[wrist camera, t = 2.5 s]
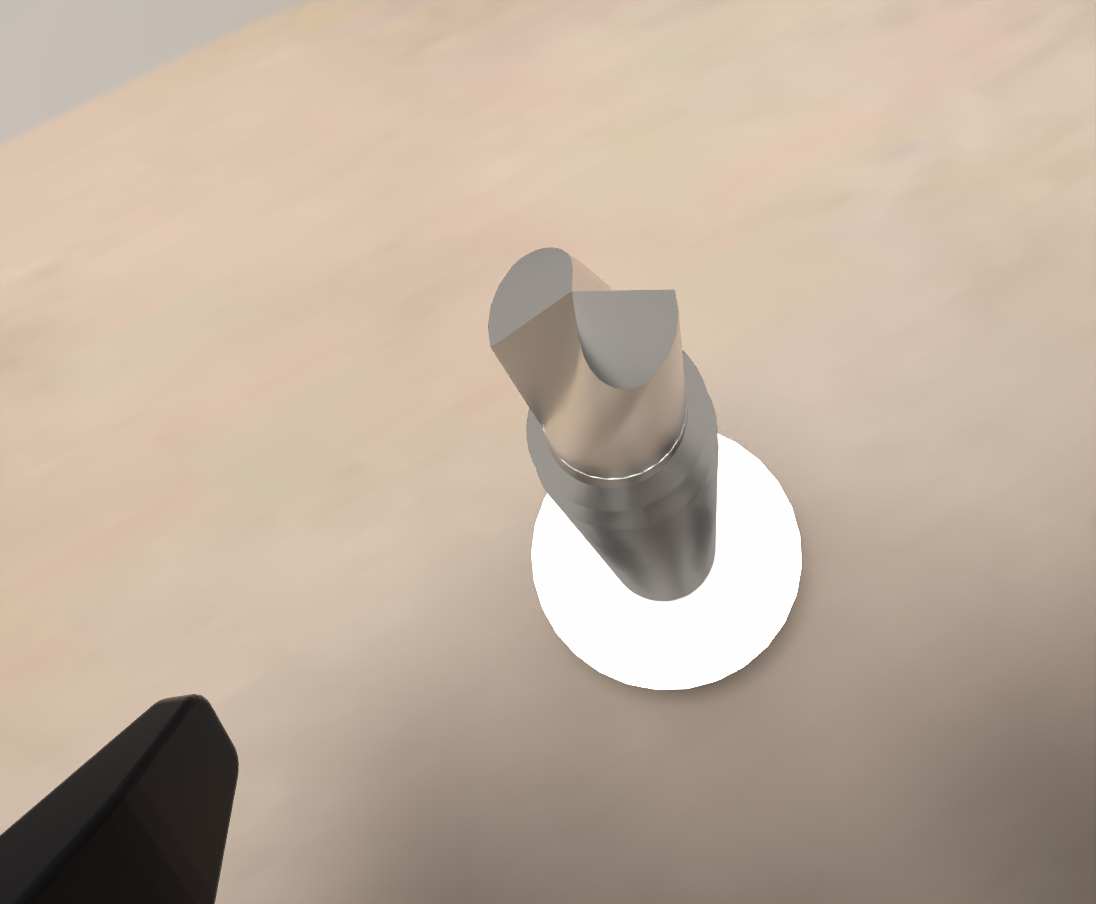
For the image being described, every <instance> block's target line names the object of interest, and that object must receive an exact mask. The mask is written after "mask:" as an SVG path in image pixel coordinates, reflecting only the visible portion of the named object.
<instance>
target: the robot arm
mask: <svg viewBox="0 0 1096 904" xmlns="http://www.w3.org/2000/svg"><path fill="white" fill-rule="evenodd" d="M238 765H239V763H238V756H237V753H236V749H235V747H234V745H233V743H232V741H231V740H230V738H229V736H228V734H227V733H226V731H225V729H224V727H223V726H222V724H221V722H220V720H219V718H218V717H217V715H216V713H215V711H214V710H213V708H212V706H211V704H210V703H209V701H208V700H207V699H206V698H204V697H203V696H201V695H196V694H191V695H185V696H178V697H171V698H166V699H163V700H160V701H158V702H157V703H155V704H154V705H153V706H151V707H150V708H149V709H148V710H147V711H146V712H144V713H143V714H142V715H141V716H140V717H139V718H137V719H136V720H135V721H134V722H133V723H132V724H130V725H129V726H128V727H127V728H126V729H125V730H123V731H122V732H121V733H120V734H119V735H117V736H116V737H115V738H114V739H113V740H112V741H110V742H109V743H108V744H107V745H106V746H105V747H103V748H102V749H101V750H100V751H99V752H98V753H96V754H95V755H94V756H93V757H92V758H90V759H89V760H88V761H87V762H86V763H85V764H83V765H82V766H81V767H80V768H79V769H78V770H76V771H75V772H74V773H73V774H72V775H71V776H69V777H68V778H67V779H66V780H65V781H64V782H62V783H61V784H60V785H59V786H58V787H56V788H55V789H54V790H53V791H52V792H51V793H49V794H48V795H47V796H46V797H45V798H44V799H42V800H41V801H40V802H39V803H38V804H37V805H35V806H34V807H33V808H32V809H31V810H30V811H28V812H27V813H26V814H25V815H24V816H22V817H21V818H20V819H19V820H18V821H17V822H15V823H14V824H13V825H12V826H11V827H10V828H8V829H7V830H6V831H5V832H4V833H3V834H1V835H0V904H215V899H216V893H217V888H218V882H219V877H220V871H221V866H222V860H223V855H224V849H225V844H226V838H227V833H228V828H229V822H230V817H231V811H232V806H233V800H234V795H235V789H236V784H237V778H238Z"/></svg>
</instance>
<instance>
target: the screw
mask: <svg viewBox="0 0 1096 904" xmlns="http://www.w3.org/2000/svg"><path fill="white" fill-rule="evenodd" d="M488 330H489V338H490V347H491V349H492V350H493V352H494V353H495V355H496V357H497V358H498V360H499V361H500V363H501V364H502V366H503V367H504V369H505V370H506V372H507V374H508V375H509V377H510V378H511V380H512V381H513V383H514V384H515V386H516V388H517V389H518V391H519V392H520V394H521V395H522V397H523V398H524V400H525V402H526V403H527V405H528V406H529V408H530V409H529V412H528V418H527V442H528V448H529V452H530V455H531V458H532V461H533V463H534V465H535V467H536V470H537V473H538V476H539V478H540V480H541V483H542V485H543V487H544V488H545V490H546V491H547V495H546V497H545V498H544V501H543V504H542V507H541V509H540V512H539V515H538V518H537V521H536V523H535V529H534V537H533V544H532V552H531V553H532V565H533V577H534V583H535V586H536V589H537V592H538V596H539V599H540V602H541V606H542V608H543V610H544V612H545V614H546V615H547V617H548V619H549V621H550V623H551V624H552V626H553V628H554V630H555V631H556V633H557V634H558V635H559V637H560V638H561V639H562V640H563V641H564V642H565V643H566V644H567V645H568V647H569V648H570V649H571V650H572V651H573V652H574V653H575V654H576V655H577V656H578V657H580V658H581V659H582V660H584V661H585V662H586V663H588V664H589V665H591V666H592V667H593V668H595V669H596V670H598V671H599V672H600V673H603V674H605V675H607V676H610V677H612V678H614V679H617V680H619V681H621V682H624V683H626V684H629V685H635V686H640V687H645V688H650V689H656V690H667V689H689V688H693V687H697V686H701V685H704V684H708V683H712V682H716V681H718V680H720V679H722V678H724V677H726V676H728V675H730V674H732V673H733V672H735V671H737V670H739V669H741V668H743V667H744V666H746V665H747V664H748V663H749V662H750V661H751V660H753V659H754V658H755V657H756V656H757V655H758V654H759V653H761V652H762V651H763V650H764V649H765V648H766V647H767V646H768V645H769V644H770V642H771V641H772V640H773V638H774V637H775V635H776V634H777V633H778V631H779V630H780V628H781V627H782V626H783V624H784V623H785V621H786V619H787V616H788V614H789V612H790V609H791V607H792V605H793V602H794V600H795V597H796V595H797V590H798V584H799V578H800V573H801V567H802V560H801V542H800V533H799V530H798V526H797V523H796V519H795V516H794V512H793V509H792V506H791V504H790V502H789V501H788V499H787V497H786V495H785V493H784V491H783V490H782V488H781V486H780V484H779V482H778V481H777V480H776V478H775V477H774V476H773V475H772V474H771V473H770V472H769V470H768V469H767V468H766V467H765V466H764V465H763V463H762V462H761V461H760V460H759V459H758V458H756V457H755V456H754V455H752V454H751V453H750V452H748V451H747V450H746V449H744V448H743V447H742V446H740V445H739V444H738V443H736V442H735V441H732V440H730V439H728V438H726V437H724V436H722V435H719V434H717V421H716V414H715V411H714V407H713V404H712V401H711V399H710V396H709V394H708V392H707V390H706V387H705V384H704V382H703V379H702V377H701V375H700V373H699V371H698V369H697V367H696V366H695V364H694V363H693V362H692V360H691V359H690V358H689V356H688V355H687V354H686V353H685V352H684V351H683V350H682V345H681V333H680V322H679V311H678V305H677V300H676V295H675V290H628V291H613V290H612V289H611V288H610V287H609V286H608V285H607V284H606V283H605V282H604V281H603V280H601V279H600V278H599V277H598V276H597V275H596V274H594V273H593V272H592V271H591V270H590V269H588V268H587V267H586V266H585V265H583V264H582V263H581V262H580V261H578V260H577V259H576V258H574V257H572V256H571V255H569V254H568V253H566V252H565V251H563V250H561V249H558V248H543V249H539V250H536V251H533V252H531V253H529V254H527V255H526V256H524V257H523V258H521V259H520V260H519V261H517V262H516V263H515V264H514V265H513V266H512V267H511V269H510V270H509V272H508V273H507V274H506V276H505V277H504V279H503V280H502V282H501V283H500V285H499V286H498V289H497V291H496V294H495V296H494V299H493V302H492V304H491V309H490V316H489V323H488Z"/></svg>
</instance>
